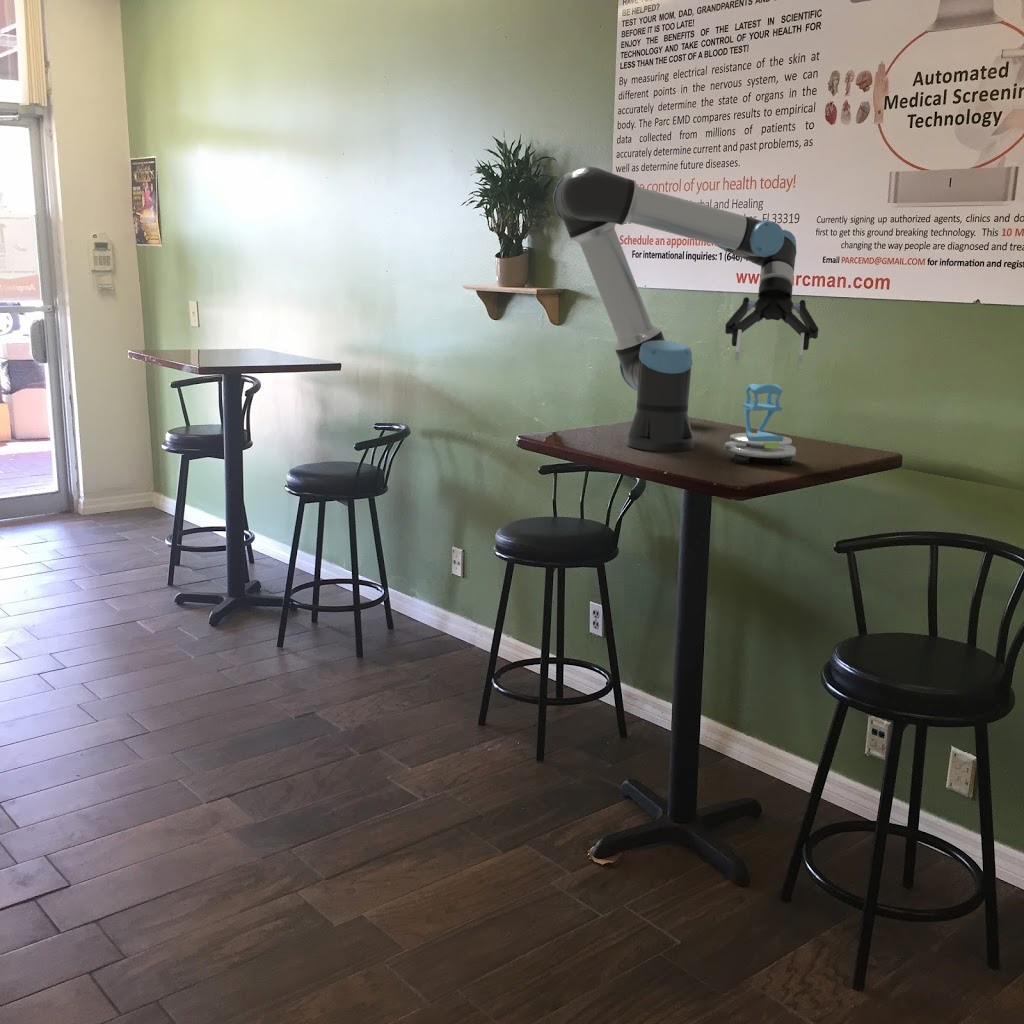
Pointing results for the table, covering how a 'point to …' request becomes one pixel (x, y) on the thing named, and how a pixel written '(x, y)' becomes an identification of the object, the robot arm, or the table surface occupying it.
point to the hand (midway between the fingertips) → (768, 357)
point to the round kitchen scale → (759, 449)
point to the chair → (762, 406)
